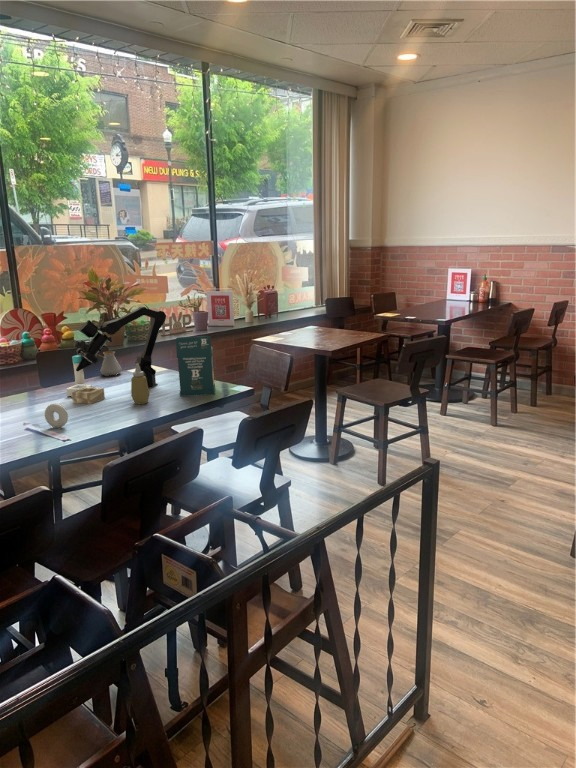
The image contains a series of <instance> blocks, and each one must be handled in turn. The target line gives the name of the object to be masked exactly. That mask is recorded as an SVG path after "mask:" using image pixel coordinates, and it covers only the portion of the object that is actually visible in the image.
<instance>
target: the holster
mask: <svg viewBox="0 0 576 768" xmlns="http://www.w3.org/2000/svg"><path fill="white" fill-rule="evenodd" d="M84 387H93V385H92V384H75V385H72V386H70V387H67V388H66V389H65V390H66V397H67V396H72V392H74V391H77V390H79V389H82V388H84ZM71 398H73V396H72V397H71Z"/></svg>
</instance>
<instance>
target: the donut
mask: <svg viewBox="0 0 576 768" xmlns="http://www.w3.org/2000/svg"><path fill="white" fill-rule="evenodd" d="M55 413H56V414H57V415H58V419H57V418H56V416H55ZM68 414H69V413H68V411H67V410H66V408H65V407H64V406H63V405H61V404H60V403H55V402H54V403H51V404H49V405H47V406H46V408H45V410H44V418H45V421H46V422H47V423H48V425H49V426H51V427H53V428H56V429H58V428H63V427H64V426H65V425H66V424H67V423H68V421H69V415H68Z"/></svg>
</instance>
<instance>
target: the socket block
mask: <svg viewBox="0 0 576 768" xmlns="http://www.w3.org/2000/svg"><path fill="white" fill-rule="evenodd" d="M72 396H73V397H72V402H73V403H74V404H89V405H92V404H95V403H97V402H99V401H101V400H103V399H104V400H105V399H106V398H105V396H106V395H105V388H104V387H93V386H92V387H84V388H82V389H79V390H77V391H74V392H72ZM73 403H72V404H73Z"/></svg>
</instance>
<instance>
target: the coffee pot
mask: <svg viewBox="0 0 576 768" xmlns="http://www.w3.org/2000/svg"><path fill="white" fill-rule="evenodd" d="M115 353H116V351H112V350H110V351H103V352H102V354H103V355H104V356H103V355H101V354H98V353H97V354H96V355H95V357H96V358H97V357H98V358H101V359H103V360H102V364H101V367H100V370H99V371H100V374H102V375H104V376H105V377H110V376H109V375H115V376H117V375H116V374H117V373H119V374H120V373H121V372H122V367H121V365H120V363H119V361H118V360H117V358H116V356H115Z"/></svg>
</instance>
